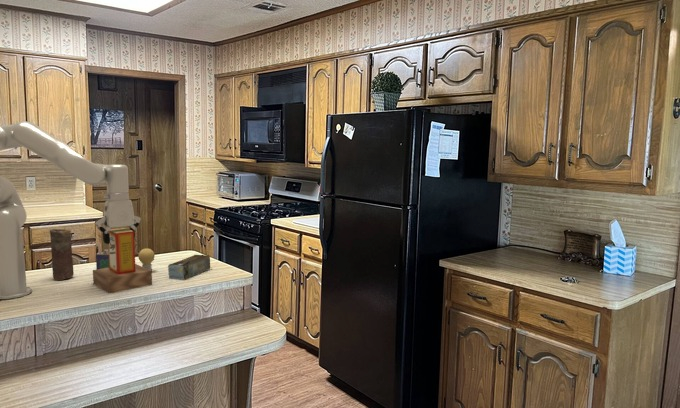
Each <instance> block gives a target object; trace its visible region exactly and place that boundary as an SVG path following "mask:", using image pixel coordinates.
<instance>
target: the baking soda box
mask: <svg viewBox="0 0 680 408" xmlns="http://www.w3.org/2000/svg"><path fill="white" fill-rule="evenodd" d="M129 229H130V228H128V227H120V228H111V229H110V231H109V232H108V233H109V234H110V243H109V244H107V245H108V247H107V249H108V253H109V270H111V271H113V272H115V273H116V274H124V273H130V272H136V269H135V264H136V254H135V253H136V249H135V238H134V231H132V230H129Z"/></svg>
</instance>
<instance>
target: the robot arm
mask: <svg viewBox="0 0 680 408" xmlns="http://www.w3.org/2000/svg"><path fill="white" fill-rule="evenodd" d="M21 147H23V148H24V149H26V150H28V151H30V152H32V153H33V154H34V155H37V156H39V157H41V158H42V159H44V160H46V161H48V162H49V163H51V164H52V165H53V166H56V167H57V168H59V169H61V170H63V172H65V173H66V174H68V175H71V176H72V177H74V178H76V179H78V180H79V181H81V182H83V183H85V184H87V185H90V186H98V185H101V183H106V194H104V195H103V199H105V203H104V210H103V217H101V218H100V219H98V220H97V221H95V226H96V227H97V229H98V230H99V231H100V232H101V233H102V241H103V243H104V244H106V245H108V244H109V243H110V234H109V233H108V232H109V231H110V229H119V228H128V229H129V230H132V231H134V239H135V237H136V230H137V228H138V226H139V225H140V223H141V220H142V218H141V217H140V216H137V215H135V211H134V207H133V201H132V200H131V199H130V193H129V192H130V191H129V190H130V189H129V168H128V165H126V164H119V163H117V164H116V163H115V164H114V163H113V164H103V163H94V162H93V161H90V160H88V159H87V158H85V157H84V156H82V155H80V154H79V153H77V152H75V151H74V149H72V148H71V147H70V146H69V145H68V144H67V143H66V142H64V141H63V140H61V139H59V138H58V137H55V136H54V135H52V134H51V133H48V132H47V131H45V130H44V129H42V128H41V127H40V126H39V125H38V124H36V123H35V122H31V121H26V120H24V121H19V122H16V123H13V124H5V125H3V124H2V125H0V150H6V149H15V148H21ZM27 219H28V218H27V212H26V210H25V206H24V205H23V202H22V200H21V198H20V196H19V193H18V192H17V189H16V187H15V185H14V184H13V182H12V181H10V180H9V178H6V177H4V176H2V175H1V174H0V300H8V299H9V300H10V299H16V298H21V297H25V296H27V295H30V294H31V293H32V292H33V288H32V287H31V286H28V285H27V275H26V263H25V249H24V239H23V233H22V232H23V231H22V227H23V226H24V224H25V223H26V221H27ZM102 224H103V226H104V227H103V226H102Z"/></svg>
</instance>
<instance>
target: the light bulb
mask: <svg viewBox="0 0 680 408" xmlns="http://www.w3.org/2000/svg"><path fill="white" fill-rule="evenodd" d="M154 259H155V252H154V250H152V249H151V248H142V249H141V250H140V251H139V252H138V260H139V261H140V263H141V266H142V267H144V268H146V269H149V270H151V271H152V270H153V269H152V268H153V267H152V263H153V262H154ZM152 272H153V271H152Z"/></svg>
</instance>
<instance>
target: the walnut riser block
mask: <svg viewBox="0 0 680 408" xmlns="http://www.w3.org/2000/svg"><path fill="white" fill-rule="evenodd" d="M135 269H136V272H130V273H124V274H116V273H115V272H113V271H111V270H109V268H103V269H97V270H96V269H93V270H92V282H93V285H94V286H96V287H97V286H98V288H99V289H101V290H104V291H105V292H107V293H108V294H113V293H117V292H123V291H127V290H128V291H129V290H133V289H137V288H143V287H147V285H148V286H152V285H153V275H152V274H153V271H151V270H149V269H146V268H144V267H142V265H139V264H137V263H135Z"/></svg>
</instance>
